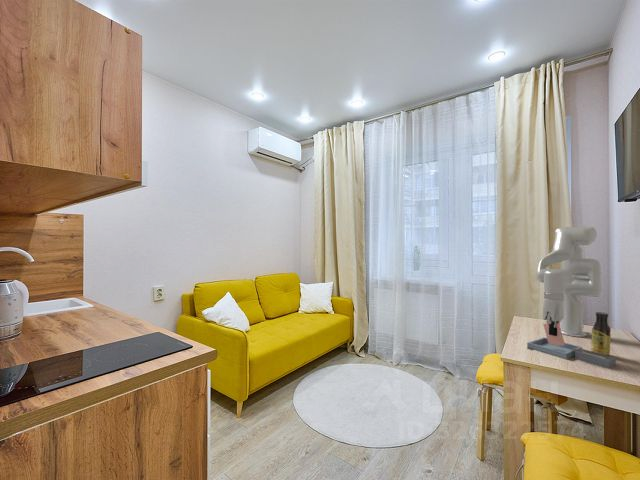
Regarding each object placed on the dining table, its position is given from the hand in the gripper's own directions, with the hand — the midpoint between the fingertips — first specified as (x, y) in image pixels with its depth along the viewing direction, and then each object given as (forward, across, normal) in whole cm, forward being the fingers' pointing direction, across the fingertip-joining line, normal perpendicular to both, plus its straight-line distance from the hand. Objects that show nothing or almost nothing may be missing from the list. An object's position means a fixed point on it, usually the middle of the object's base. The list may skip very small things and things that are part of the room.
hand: (554, 334), depth 139 cm
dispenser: (+8, 0, +15) cm, 17 cm away
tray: (+8, 0, 0) cm, 8 cm away
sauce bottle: (+8, -12, +13) cm, 20 cm away
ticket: (+5, 0, +1) cm, 5 cm away
